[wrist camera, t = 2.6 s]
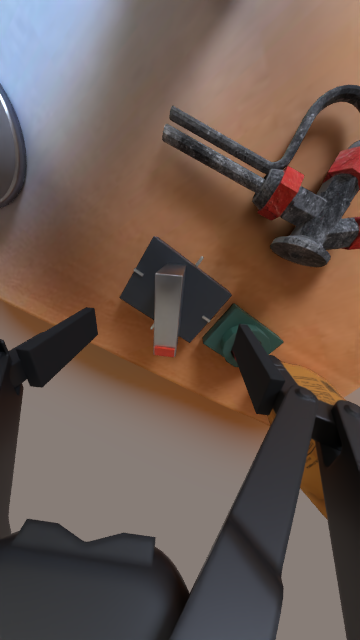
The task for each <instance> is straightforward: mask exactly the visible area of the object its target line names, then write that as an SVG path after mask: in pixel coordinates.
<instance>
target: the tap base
mask: <svg viewBox="0 0 360 640" xmlns="http://www.w3.org/2000/svg"><path fill="white" fill-rule="evenodd" d="M203 258H204V257H202V256H201V258H200V259H199V260H198V262H197V263H196V265H194V264H193V263H191V262H190V261H189V260H188V259H186V258H185V257H184V256H182V255H181V254H180V253H178V252H177V251H176V250H174V249H173V248H172V247H170V246H169V245H168V244H166V243H165V242H164V241H162V240H161V239H160V238H159V237H155V236H154V237H153V238H152V240H151V242H150V244H149V246H148V247H147V249H146V251H145V253H144V255H143V256H142V258H141V260H140V262H139V264H138V265H137V267H136V268H135V269H134V273H133V274H132V276H131V278H130V280H129V281H128V283H127V285H126V287H125V289H124V290H123V292H122V294H121V296H120V299H122V300H124V301H125V302H127V303H128V304H130V305H131V306H133V307H134V308H136V309H138V310H139V311H141V312H142V313H144V314H145V315H147V316H149V317H150V318H152V319H153V320H154V309H155V274H156V273H157V272H158V271H159V270H160V269H161V268H163V267H164V266H165V265H166V264H167V263H169V264H179V265H186V270H185V280H184V290H183V300H182V310H181V320H180V329H179V336H180V337H181V338H183V339H184V340H186V341H188V342H189V343H190V342H191V341H192V340H193V339H194V338H195V337H196V335H197V334H198V333H199V332H200V331H201V330H202V329H203V327H204V326H205V325H206V324H207V323H208V322H210V321H211V318H212V317H213V316H214V315H215V314H216V313H217V312H218V310H219V309H220V308H221V307H222V306H223V305H224V304H225V303H226V301H227V300H228V299H229V298H230V297H231V296H232V295H231V293H230V292H229V291H228V290H227V289H226V288H224V287H223V286H222V285H220V284H219V283H218V282H217V281H215V280H214V279H213V278H211V277H210V276H209V275H207V274H206V273H205V272H203V271H202V270H201V269H199V268H198V265H199V264H200V262H201V261H202V260H203ZM153 328H154V324H153V325H152V326H151V328H150V329H151V330H152V329H153Z"/></svg>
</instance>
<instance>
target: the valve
mask: <svg viewBox="0 0 360 640" xmlns="http://www.w3.org/2000/svg"><path fill="white" fill-rule="evenodd" d="M336 102H348V103H350V104H352V105H353V106H355V107H356V108H357V109H358V111H359V112H360V86H357V85H344V86H339V87H336V88H334V89H332V90H330V91H328V92H326V93H325V94H324V95H322V96H321V97H320V98H319V99H318V100H317V101H316V102H315V103H314V104H313V105H312V106H311V108H310V109H309V110H308V112H307V114H306V115H305V117H304V118H303V120H302V122H301V124H300V126H299V127H298V129H297V131H296V133H295V135H294V137H293V139H292V141H291V143H290V144H289V146H288V148H287V150H286V152H285V154H284V156H283V157H282V158H281V159H280V160H279V161H277V162H270V161H268V160H266V159H264V158H263V157H261V156H259V155H257V154H256V153H254V152H252V151H250V150H249V149H247V148H245V147H244V146H242V145H240V144H238V143H237V142H235V141H233V140H231V139H230V138H228V137H226V136H225V135H223V134H221V133H219V132H218V131H216V130H214V129H212V128H211V127H209V126H207V125H205V124H204V123H202V122H200V121H199V120H197V119H195V118H193V117H192V116H190V115H188V114H186V113H185V112H183V111H181V110H180V109H178V108H176V107H174V106H172V107H171V110H170V116H169V118H170V120H171V121H173V122H175V123H177V124H178V125H180V126H182V127H184V128H185V129H187V130H189V131H191V132H192V133H194V134H196V135H198V136H199V137H201V138H203V139H205V140H206V141H208V142H210V143H212V144H213V145H215V146H217V147H219V148H220V149H222V150H224V151H226V152H227V153H229V154H231V155H233V156H234V157H236V158H238V159H240V160H241V161H243V162H245V163H247V164H248V165H250V166H252V167H254V168H255V169H257V170H259V171H261V172H262V173H265V174H266V176H265V177H264V179H263V178H262V177H260V176H258V175H256V174H255V173H253V172H251V171H249V170H248V169H246V168H244V167H242V166H241V165H239V164H237V163H235V162H234V161H232V160H230V159H228V158H227V157H225V156H223V155H221V154H219V153H218V152H216V151H214V150H212V149H211V148H209V147H207V146H205V145H204V144H202V143H200V142H198V141H197V140H195V139H193V138H191V137H190V136H188V135H186V134H184V133H182V132H181V131H179V130H177V129H175V128H174V127H172V126H170V125H168V124H166V125H165V127H164V131H163V136H162V140H163V141H164V142H166V143H167V144H169V145H171V146H173V147H175V148H176V149H178V150H180V151H182V152H184V153H185V154H187V155H189V156H191V157H193V158H194V159H196V160H198V161H200V162H201V163H203V164H205V165H207V166H209V167H210V168H212V169H214V170H216V171H218V172H219V173H221V174H223V175H225V176H227V177H228V178H230V179H232V180H234V181H236V182H237V183H239V184H241V185H243V186H244V187H246V188H248V189H250V190H252V191H253V192H255V195H254V197H253V200H252V202H253V203H254V204H255V206H256V207H257V208H258V209H259V210H258V212H257V213H258V214H260V215H262V216H263V217H265V218H267V219H269V220H273V219H275V218H277V217H279V216H280V217H281V218H282V219H284V220H286V221H288V222H290V223H291V224H293V225H295V228H294V230H293V231H292V233H291V235H289V236H287V237H286V236H285V237H277V238H275V239H274V240H273V242H272V244H271V245H270V248H271V249H272V251H273V252H274V253H276V254H277V255H279V256H280V257H282V258H284V259H286V260H289V261H291V262H294V263H297V264H300V265H304V266H310V267H322V266H325V265H326V264H327V263H328V261H329V260H330V257H331V256H330V254H329V253H328V252H327V251H326V250H331V249H339V248H342V249H347V250H351V249H360V217H353V218H345V219H341V217H342V216H343V214H344V213H345V211H346V210H347V208H348V207H349V205H350V202H351V201H352V199H353V198H354V196H355V195H356V193H357V192H358V191H359V190H360V140H359V141H357V142H355V143H354V144H352V145H351V146H350V147H349V148H348V149H347V150H342V151H340V153H339V155H338V156H337V158H336V160H335V161H334V163H333V165H332V166H331V168H330V170H329V171H328V173H327V175H326V177H325V179H324V181H323V183H322V186H321V187H320V189H319V191H318V192H317V194H314V193H312V192H310V191H309V190H307V189H305V188H303V187H301V183H302V180H303V178H304V175H303V174H301V173H300V172H298V171H296V170H294V169H293V168H291V167H289V166H288V164H289V163H290V161H291V160H292V159H293V157H294V155H295V153H296V151H297V150H298V148H299V146H300V144H301V142H302V140H303V139H304V137H305V135H306V133H307V131H308V129H309V128H310V126H311V124H312V122H313V120H314V119H315V117H316V116H317V115H318V113H319V112H320V111H321V110H323V109H324V108H325V107H327V106H328V105H331V104H333V103H336ZM285 167H286V168H285ZM284 168H285V169H284ZM283 169H284V170H283Z"/></svg>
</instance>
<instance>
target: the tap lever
mask: <svg viewBox="0 0 360 640" xmlns="http://www.w3.org/2000/svg"><path fill="white" fill-rule="evenodd" d="M185 270H186V265H179V264H169V263H167V264H166V265H165V266H164V267H163V268H161V269H160V270H159V271H158V272H157V273H156V274H155V309H154V351H153V354H154V355H159V356H168V357H175V356H176V349H177V343H178V336H179V329H180V320H181V310H182V300H183V290H184V280H185Z"/></svg>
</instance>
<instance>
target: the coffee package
mask: <svg viewBox="0 0 360 640" xmlns="http://www.w3.org/2000/svg"><path fill="white" fill-rule="evenodd" d="M281 363H282V364H283V365H284V367H285V368H286V369H287V371H288V372H289V373H290V375H291V376H292V377H293V379H294V380H295V381H296V383H297V384H298V385H299V386H302V387H305V388H307V389H308V390H310V391H311V392H312V393H314V394H315V395H316V397H317V398H318V400H320V401H323V402H326V403H329V404H332V405H334V404H335V403H336V402H337V401H338V400H345V399H344V398H343V397H342V396H341V395H340V394H339V393H338V392H337V391H336V389H335V388H334V387H333V386H332V385H331V384H330V383H329V382H328V381H326V379H325V378H323V377H321V376H318V375H317V374H316V373H315V372H313V371H311V370H309V369H307V368H304V367H302V366H299V365H291V364H288V363H284V362H281ZM267 416H268V419H269V422H270V424H272V422H273V420H274V418H275V416H276V414H275V412H274V410H273V408H272V411H271V413H270V415H267ZM300 488H301V489H302V491H303V492H304V493H305V494H306V495H307V497H308V498H309V499H310V500H311V502H312V503H313V504H314V505H315V506H316V507H317V508H318V510H319V511H320V512H321V513H322V514H323V515H324V516H325V517H326V519H327V513H326V507H325V500H324V494H323V488H322V482H321V476H320V469H319V463H318V457H317V451H316V445H315V440H313V439H311V440H310V445H309V449H308V454H307V458H306V463H305V467H304V472H303V477H302V481H301V486H300ZM327 520H328V519H327Z"/></svg>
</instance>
